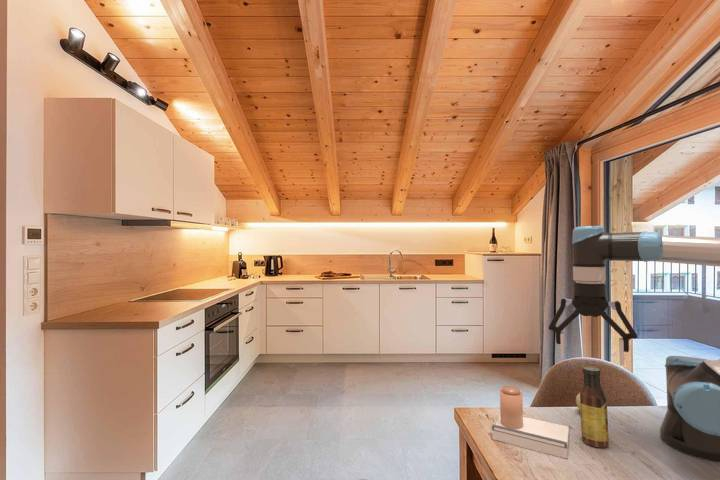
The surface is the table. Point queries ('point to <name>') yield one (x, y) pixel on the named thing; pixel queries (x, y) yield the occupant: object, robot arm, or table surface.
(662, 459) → the table surface
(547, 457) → the table surface
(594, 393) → the sauce bottle
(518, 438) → the white rectangular box
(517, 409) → the terracotta jar
